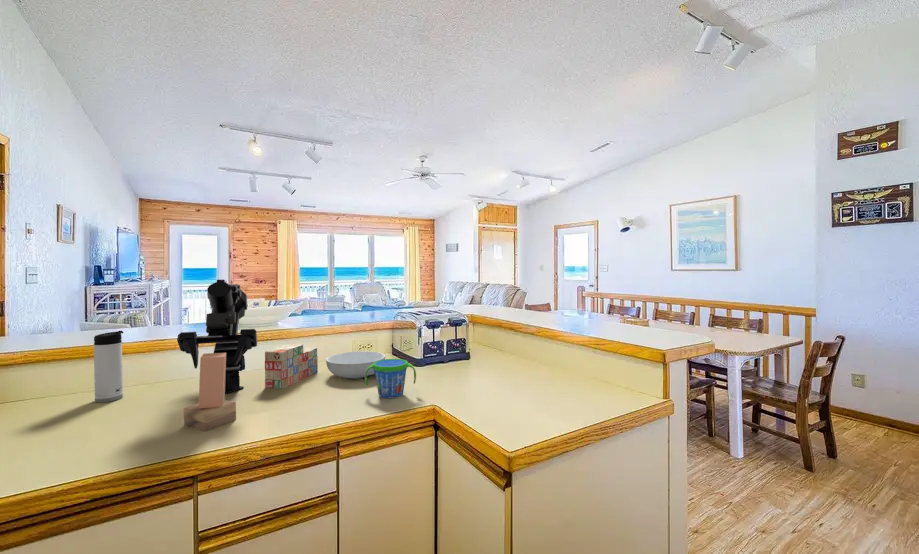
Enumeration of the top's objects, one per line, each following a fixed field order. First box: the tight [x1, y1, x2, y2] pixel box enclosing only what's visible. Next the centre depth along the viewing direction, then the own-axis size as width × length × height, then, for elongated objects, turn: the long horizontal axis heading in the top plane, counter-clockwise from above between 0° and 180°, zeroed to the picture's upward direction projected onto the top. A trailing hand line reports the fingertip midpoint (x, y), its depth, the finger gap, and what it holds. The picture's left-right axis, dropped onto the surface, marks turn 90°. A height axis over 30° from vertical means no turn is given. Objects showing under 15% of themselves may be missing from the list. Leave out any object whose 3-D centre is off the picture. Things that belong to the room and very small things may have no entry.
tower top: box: [183, 399, 237, 423], centre depth 101 cm, size 8×8×2 cm
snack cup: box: [364, 358, 417, 399], centre depth 123 cm, size 16×10×10 cm
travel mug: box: [93, 330, 124, 403], centre depth 118 cm, size 6×7×20 cm
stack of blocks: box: [264, 343, 319, 390], centre depth 140 cm, size 21×6×12 cm, turn 169°
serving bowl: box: [325, 350, 386, 380], centre depth 145 cm, size 21×21×7 cm
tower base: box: [183, 411, 237, 432], centre depth 101 cm, size 8×8×2 cm
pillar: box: [198, 352, 226, 409], centre depth 101 cm, size 5×5×12 cm
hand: (215, 366), depth 106 cm, fingers open, 9 cm apart
